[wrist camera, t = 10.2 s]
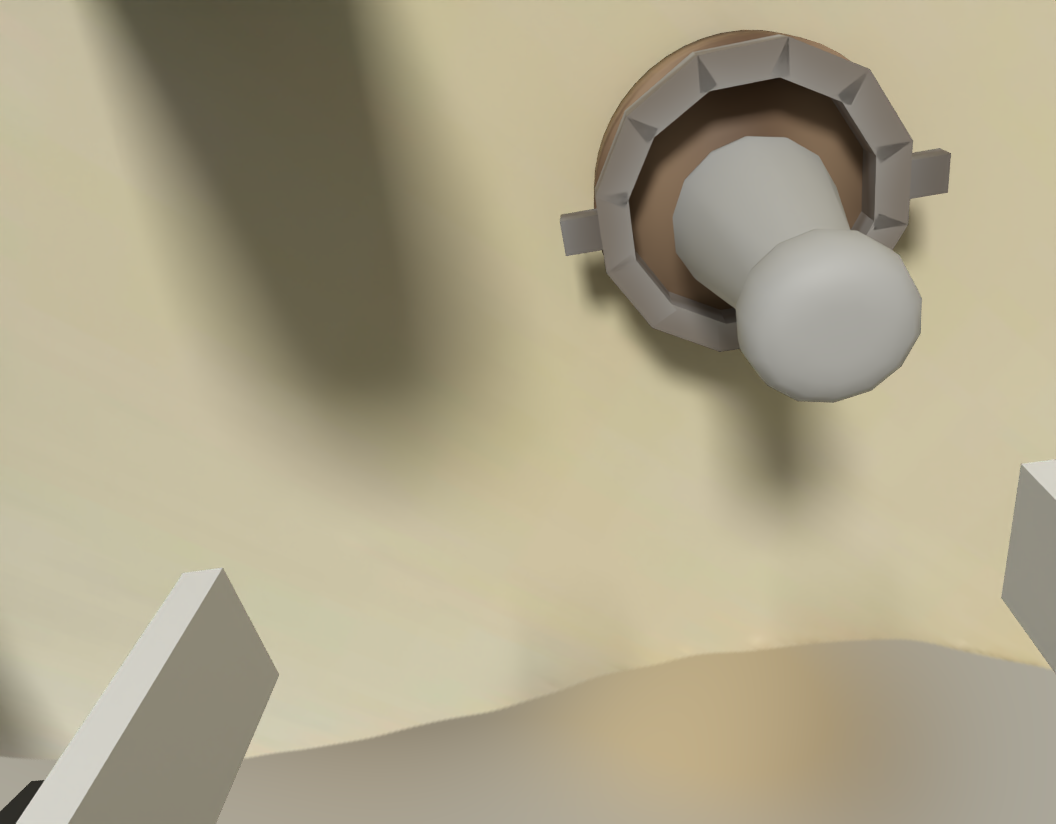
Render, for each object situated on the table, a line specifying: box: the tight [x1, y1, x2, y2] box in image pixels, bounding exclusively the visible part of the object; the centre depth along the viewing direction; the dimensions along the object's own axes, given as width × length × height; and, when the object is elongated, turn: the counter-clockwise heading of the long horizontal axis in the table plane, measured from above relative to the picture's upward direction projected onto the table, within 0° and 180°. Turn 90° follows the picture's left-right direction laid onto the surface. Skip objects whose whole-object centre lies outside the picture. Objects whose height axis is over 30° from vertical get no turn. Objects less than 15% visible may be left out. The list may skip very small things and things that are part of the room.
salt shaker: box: [673, 136, 922, 402], centre depth 23 cm, size 6×6×13 cm
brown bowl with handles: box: [560, 30, 951, 352], centre depth 29 cm, size 14×12×4 cm
